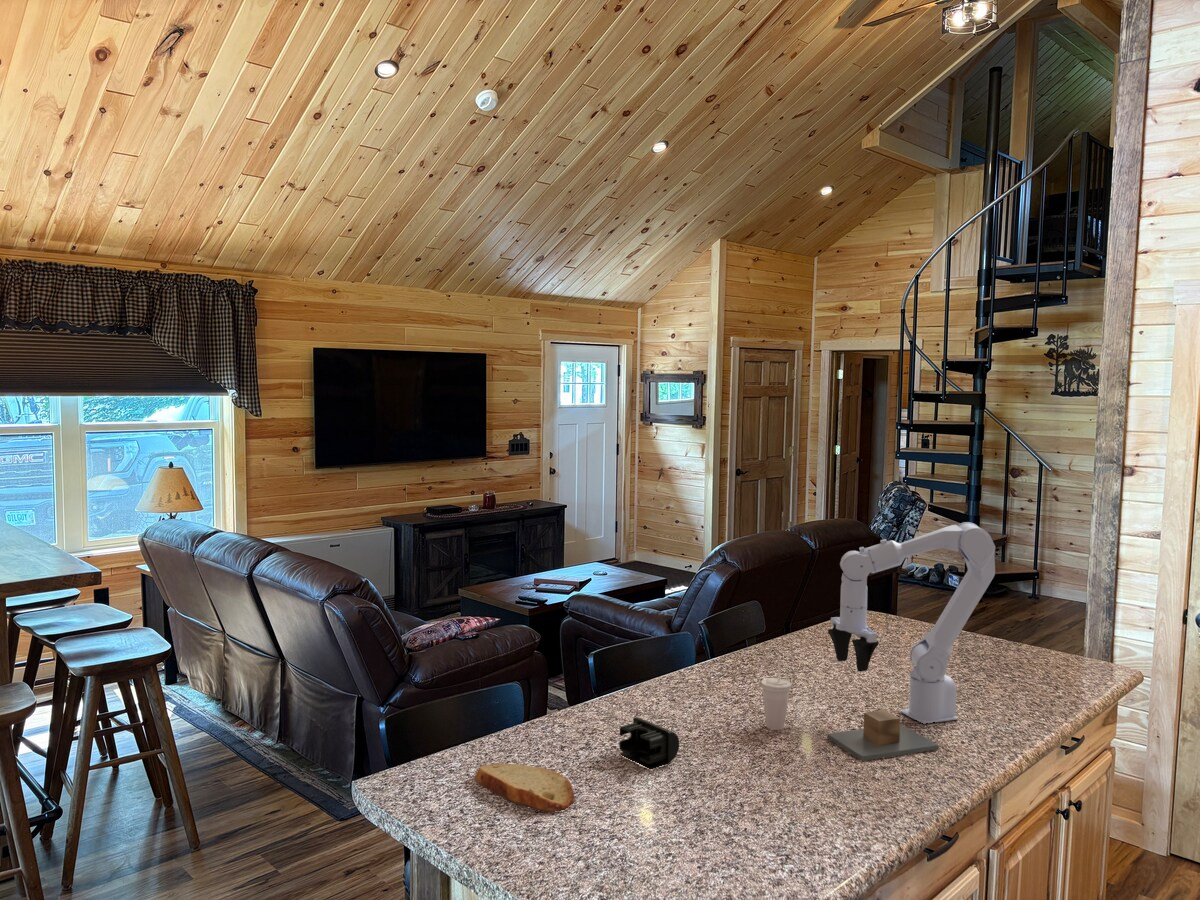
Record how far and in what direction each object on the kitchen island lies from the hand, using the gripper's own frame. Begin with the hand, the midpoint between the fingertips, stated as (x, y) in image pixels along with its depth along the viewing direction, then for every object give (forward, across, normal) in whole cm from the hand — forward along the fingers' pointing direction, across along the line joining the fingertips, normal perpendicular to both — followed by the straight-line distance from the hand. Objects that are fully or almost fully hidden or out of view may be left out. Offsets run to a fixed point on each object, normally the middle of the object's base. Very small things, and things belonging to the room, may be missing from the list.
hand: (851, 665), depth 201 cm
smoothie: (+11, +3, -21) cm, 24 cm away
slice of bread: (+11, +16, -80) cm, 82 cm away
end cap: (+11, +10, -53) cm, 55 cm away
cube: (+9, +18, -5) cm, 21 cm away
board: (+10, +18, -5) cm, 21 cm away
